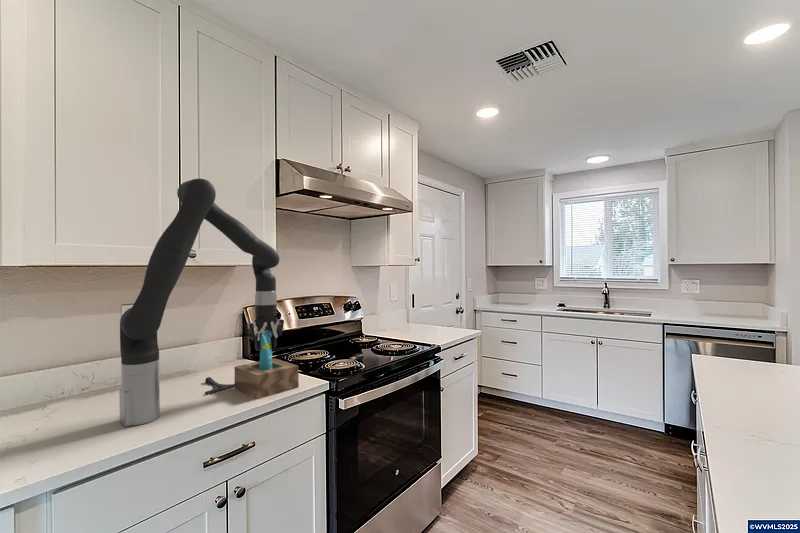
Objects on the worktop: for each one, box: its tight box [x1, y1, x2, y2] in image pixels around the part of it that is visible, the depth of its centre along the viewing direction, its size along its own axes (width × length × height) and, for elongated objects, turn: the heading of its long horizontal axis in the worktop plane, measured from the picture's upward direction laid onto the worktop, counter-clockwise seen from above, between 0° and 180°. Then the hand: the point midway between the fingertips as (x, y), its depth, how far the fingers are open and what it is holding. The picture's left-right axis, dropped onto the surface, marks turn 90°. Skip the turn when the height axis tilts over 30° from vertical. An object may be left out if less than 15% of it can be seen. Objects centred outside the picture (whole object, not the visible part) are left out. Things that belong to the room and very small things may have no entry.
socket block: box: [234, 357, 300, 400], centre depth 139 cm, size 16×17×8 cm
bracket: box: [204, 376, 235, 396], centre depth 142 cm, size 14×15×3 cm
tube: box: [259, 330, 273, 371], centre depth 139 cm, size 7×5×19 cm, turn 3°
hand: (266, 348), depth 139 cm, fingers closed on tube, 5 cm apart
